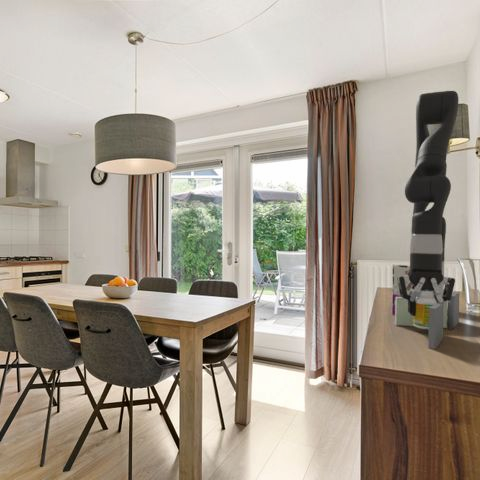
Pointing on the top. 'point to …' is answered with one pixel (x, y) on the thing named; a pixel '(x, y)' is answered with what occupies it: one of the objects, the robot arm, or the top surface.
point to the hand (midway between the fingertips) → (424, 315)
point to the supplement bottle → (423, 308)
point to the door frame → (437, 319)
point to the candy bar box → (397, 271)
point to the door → (404, 316)
